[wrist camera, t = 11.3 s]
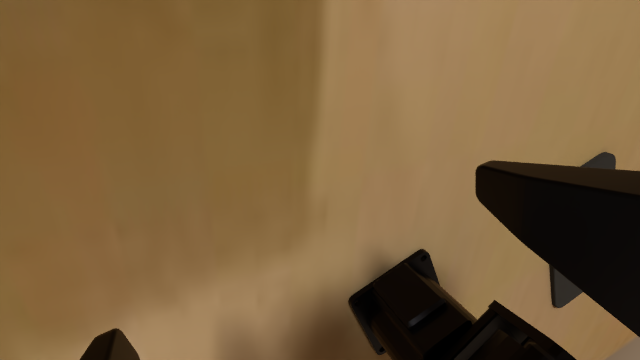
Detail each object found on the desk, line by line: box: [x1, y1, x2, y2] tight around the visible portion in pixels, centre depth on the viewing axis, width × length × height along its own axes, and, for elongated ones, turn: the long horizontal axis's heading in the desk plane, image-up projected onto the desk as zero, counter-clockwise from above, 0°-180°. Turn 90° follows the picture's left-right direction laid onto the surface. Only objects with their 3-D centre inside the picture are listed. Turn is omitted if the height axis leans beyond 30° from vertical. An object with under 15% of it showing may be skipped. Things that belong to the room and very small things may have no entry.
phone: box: [549, 152, 616, 308], centre depth 34 cm, size 7×1×15 cm
